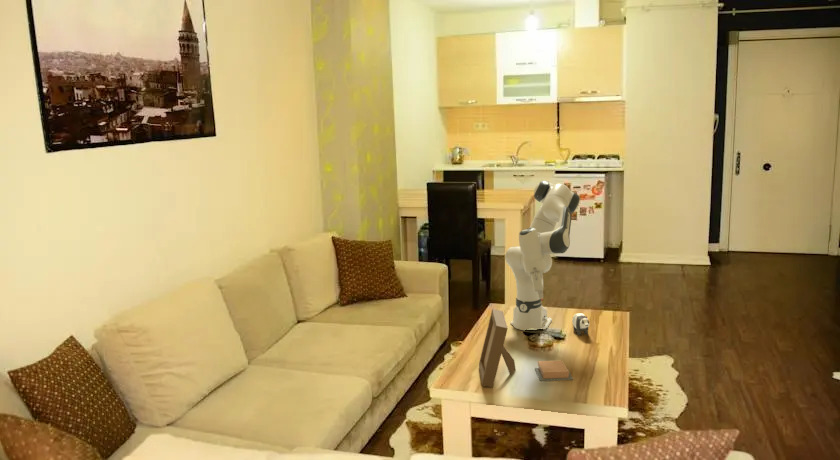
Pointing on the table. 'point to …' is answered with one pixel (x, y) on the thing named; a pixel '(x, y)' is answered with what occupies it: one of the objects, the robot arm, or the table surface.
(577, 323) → the giant panda
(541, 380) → the mat
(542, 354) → the table surface
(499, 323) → the photo frame
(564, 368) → the tile
